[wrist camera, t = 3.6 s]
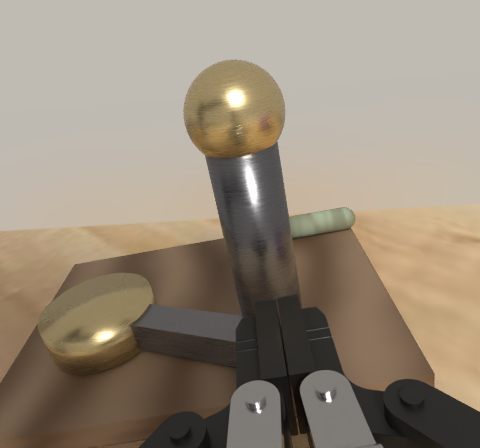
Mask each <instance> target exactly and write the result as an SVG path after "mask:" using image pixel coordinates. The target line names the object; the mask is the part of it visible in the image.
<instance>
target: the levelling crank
mask: <svg viewBox="0 0 480 448" xmlns="http://www.w3.org/2000/svg"><path fill="white" fill-rule="evenodd" d="M184 121H185V126H186V129H187V132H188V134H189V136H190V139H191V140H192V142H193V143H194V145H195V146H196V147H197V148H198V149H199V150H200V151H201V152H202V153H203V154H204V155H205V157H206V161H207V165H208V170H209V174H210V179H211V183H212V188H213V192H214V196H215V201H216V205H217V209H218V214H219V218H220V222H221V227H222V231H223V236H224V240H225V244H226V249H227V253H228V257H229V262H230V266H231V270H232V275H233V279H234V284H235V288H236V292H237V297H238V301H239V305H240V310H241V314H242V316H240V315H232V314H225V313H217V312H209V311H201V310H194V309H186V308H178V307H170V306H163V305H157V304H156V301H155V298H154V295H153V292H152V289H151V286H150V284H149V282H148V281H147V279H145V278H144V277H142V276H140V275H137V274H133V273H114V274H108V275H103V276H99V277H96V278H93V279H90V280H87V281H85V282H82V283H80V284H78V285H76V286H74V287H72V288H71V289H69V290H67V291H66V292H64V293H63V294H61V295H60V296H58V297H57V298H56V299H55V300H53V301H52V302H51V303H50V304H49V305H48V306H47V307H46V309H45V310H44V311H43V313H42V315H41V316H40V319H39V321H38V331H39V333H40V335H41V337H42V339H43V341H44V343H45V345H46V348H47V350H48V352H49V354H50V356H51V358H52V360H53V362H54V364H55V365H56V367H57V368H59V369H60V370H61V371H63V372H66V373H69V374H74V375H90V374H96V373H100V372H104V371H107V370H110V369H113V368H115V367H117V366H119V365H122V364H123V363H125V362H127V361H129V360H131V359H132V358H134V357H135V356H137V355H138V354H139V353H140V352H142V351H143V350H147V351H153V352H158V353H163V354H169V355H174V356H179V357H185V358H190V359H195V360H201V361H206V362H211V363H217V364H222V365H227V366H233V367H236V328H237V326H238V324H239V322H240V321H241V319H243V318H249V317H255V305H254V301H260V300H266V299H272V298H275V300H276V306H277V311H278V317H279V322H280V327H281V333H282V338H283V332H282V326H281V320H280V314H279V308H278V302H277V298H278V297H284V296H290V295H296V294H298V297H299V302H300V306H301V309H303V307H302V300H301V294H300V287H299V281H298V274H297V267H296V261H295V254H294V248H293V241H292V235H291V228H290V221H289V215H288V209H287V202H286V195H285V189H284V183H283V176H282V169H281V163H280V156H279V150H278V143H277V140H278V139H279V137H280V135H281V132H282V129H283V126H284V121H285V104H284V99H283V96H282V93H281V90H280V88H279V87H278V85H277V83H276V82H275V80H274V79H273V78H272V77H271V76H270V74H269V73H267V72H266V71H265V70H264V69H262V68H261V67H259V66H257V65H255V64H253V63H250V62H247V61H242V60H226V61H222V62H218V63H216V64H214V65H212V66H210V67H208V68H206V69H205V70H204V71H203V72H201V73H200V74H199V75H198V76H197V77H196V79H195V80H194V81H193V83H192V84H191V86H190V88H189V90H188V93H187V95H186V98H185V103H184ZM283 344H284V338H283ZM284 350H285V344H284ZM285 356H286V350H285ZM286 362H287V356H286ZM287 368H288V362H287ZM288 374H289V368H288ZM289 381H290V385H291V380H290V374H289Z"/></svg>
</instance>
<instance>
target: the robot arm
mask: <svg viewBox="0 0 480 448" xmlns="http://www.w3.org/2000/svg"><path fill="white" fill-rule="evenodd" d="M277 302H278V308H279V314H280V320H281V326H282V332H283V338H284V344H285V350H286V356H287V362H288V368H289V374H290V380H291V385H292V391H293V396H294V402H295V407H296V412H297V418H298V423H299V429H300V434H305V433H307V435H308V441H309V446H310V448H480V412H479V411H477V410H475V409H473V408H471V407H469V406H468V405H466V404H464V403H462V402H460V401H458V400H456V399H455V398H453V397H451V396H449V395H447V394H445V393H443V392H442V391H440V390H438V389H436V388H434V387H432V386H430V385H429V384H427V383H424V382H422V381H419V380H415V379H401V380H397V381H394V382H393V383H391V384H390V385H388V387H387V388H386V389H385V391H379V390H371V389H366V388H362V387H360V386H357V385H355V384H354V383H352V382H351V381H350V380H349V379H348V378H347V377H346V376H345V374H344V372H343V370H342V366H341V363H340V360H339V357H338V354H337V351H336V347H335V344H334V341H333V338H332V335H331V332H330V329H329V325H328V322H327V319H326V316H325V314H323V313H322V312H321V311H320V310H319V309H318V308H317V307H316V306H315V307H309V308H303V309H301V306H300V302H299V297H298V294H296V295H290V296H284V297H278V298H277ZM254 305H255V317H249V318H243V319H241V321H240V322H239V324H238V326H237V328H236V391H235V392H234V394H233V396H232V398H231V402H230V403H229V405H228V406H226V407H225V408H224V409H223V410H221V411H219V412H218V413H216V414H213V415H211V416H209V417H207V418H205V419H203V418H202V417H201V416H200V415H199V414H197V413H195V412H191V411H184V412H179V413H176V414H174V415H172V416H170V417H168V418H167V419H166V420H165V421H164V422H163V423H162V424H161V425H160V426H159V427H158V428H157V429H156V430H155V431H154V432H153V433H152V434H151V435H150V436H149V437H148V438H147V440H146V441H145V442H144V443H143V444H142V445H141V446H140V447H139V448H293V444H292V437H291V436H292V435H298V430H297V424H296V418H295V412H294V405H293V399H292V393H291V387H290V381H289V374H288V368H287V362H286V356H285V350H284V344H283V338H282V333H281V327H280V322H279V317H278V311H277V306H276V300H275V298H272V299H266V300H260V301H254Z"/></svg>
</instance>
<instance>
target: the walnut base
mask: <svg viewBox="0 0 480 448" xmlns="http://www.w3.org/2000/svg"><path fill="white" fill-rule="evenodd" d="M289 221H290V228H291V235H292V241H293V248H294V254H295V261H296V267H297V274H298V281H299V287H300V294H301V300H302V307H303V308H309V307H315V306H316V307H317V308H318V309H319V310H320V311H321V312H322V313H323V314H325V316H326V319H327V322H328V325H329V329H330V332H331V335H332V338H333V341H334V344H335V347H336V351H337V354H338V357H339V360H340V363H341V366H342V370H343V372H344V374H345V376H346V377H347V378H348V379H349V380H350V381H351V382H352V383H354V384H355V385H357V386H360V387H362V388H366V389H371V390H379V391H385V389H386V388H387V387H388V385H390V384H391V383H393V382H394V381H397V380H401V379H415V380H419V381H422V382H424V383H427V384H429V385H430V386H432V387H434V372H433V371H432V369H431V367H430V365H429V364H428V362H427V360H426V358H425V357H424V355H423V353H422V351H421V350H420V348H419V346H418V344H417V343H416V341H415V339H414V337H413V336H412V334H411V332H410V330H409V329H408V327H407V325H406V323H405V322H404V320H403V318H402V316H401V315H400V313H399V311H398V309H397V308H396V306H395V304H394V302H393V301H392V299H391V297H390V295H389V294H388V292H387V290H386V288H385V287H384V285H383V283H382V281H381V280H380V278H379V276H378V274H377V273H376V271H375V269H374V267H373V266H372V264H371V262H370V260H369V259H368V257H367V255H366V253H365V252H364V250H363V248H362V246H361V245H360V243H359V241H358V239H357V238H356V236H355V234H354V232H353V231H352V229H351V227H352V226H353V224H354V222H355V215H354V213H353V211H352V210H350V209H349V208H345V207H342V208H336V209H331V210H325V211H320V212H314V213H308V214H302V215H297V216H291V217H289ZM114 273H133V274H137V275H140V276H142V277H144V278H145V279H147V281H148V282H149V284H150V286H151V289H152V292H153V295H154V298H155V301H156V304H157V305H163V306H170V307H178V308H186V309H194V310H201V311H209V312H217V313H225V314H232V315H240V316H242V314H241V310H240V305H239V301H238V297H237V292H236V288H235V284H234V279H233V275H232V270H231V266H230V262H229V257H228V253H227V249H226V244H225V240H224V238H223V239H217V240H212V241H206V242H200V243H195V244H189V245H183V246H178V247H172V248H166V249H161V250H155V251H149V252H143V253H138V254H132V255H126V256H121V257H115V258H109V259H104V260H98V261H92V262H87V263H81V264H75V265H74V267H73V268H72V270H71V272H70V273H69V275H68V276H67V278H66V280H65V281H64V283H63V284H62V286H61V288H60V289H59V291H58V292H57V294H56V296H55V297H54V299H53V300H55V299H56V298H57V297H58V296H60V295H61V294H63V293H64V292H66V291H67V290H69V289H71V288H72V287H74V286H76V285H78V284H80V283H82V282H85V281H87V280H90V279H93V278H96V277H99V276H103V275H108V274H114ZM53 300H52V301H53ZM290 387H291V393H292V399H293V405H294V412H295V417H297V412H296V407H295V402H294V396H293V391H292V385H290ZM235 391H236V367H233V366H227V365H222V364H217V363H211V362H206V361H201V360H195V359H190V358H185V357H179V356H174V355H169V354H163V353H158V352H153V351H147V350H143V351H142V352H140V353H139V354H138V355H137V356H135V357H134V358H132V359H131V360H129V361H127V362H125V363H123V364H122V365H119V366H117V367H115V368H113V369H110V370H107V371H104V372H100V373H96V374H90V375H74V374H69V373H66V372H63V371H61V370H60V369H59V368H57V367H56V365H55V364H54V362H53V360H52V358H51V356H50V354H49V352H48V350H47V348H46V345H45V343H44V341H43V339H42V337H41V335H40V333H39V331H38V324H37V326H36V328H35V329H34V331H33V332H32V334H31V336H30V337H29V339H28V340H27V342H26V344H25V345H24V347H23V348H22V350H21V351H20V353H19V355H18V356H17V358H16V359H15V361H14V363H13V364H12V366H11V367H10V369H9V371H8V372H7V374H6V375H5V377H4V379H3V380H2V382H1V383H0V448H90V447H97V446H104V445H110V444H117V443H124V442H131V441H137V440H144V439H147V438H148V437H149V436H150V435H151V434H152V433H153V432H154V431H155V430H156V429H157V428H158V427H159V426H160V425H161V424H162V423H163V422H164V421H165V420H166V419H167V418H168V417H170V416H172V415H174V414H176V413H179V412H184V411H191V412H195V413H197V414H199V415H200V416H201V417H202V418H203V419H205V418H207V417H209V416H211V415H213V414H216V413H218V412H219V411H221V410H223V409H224V408H225V407H226V406H228V405H229V403H230V402H231V398H232V396H233V394H234V392H235Z"/></svg>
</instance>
